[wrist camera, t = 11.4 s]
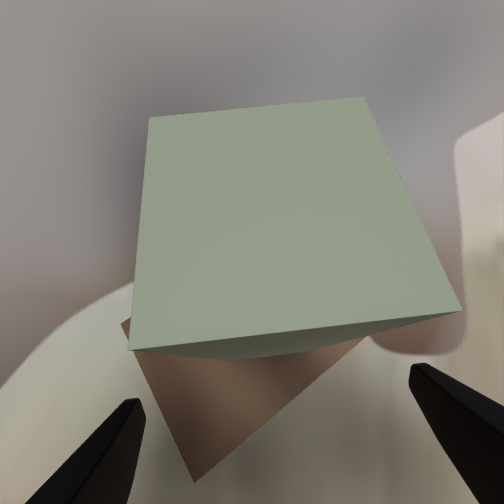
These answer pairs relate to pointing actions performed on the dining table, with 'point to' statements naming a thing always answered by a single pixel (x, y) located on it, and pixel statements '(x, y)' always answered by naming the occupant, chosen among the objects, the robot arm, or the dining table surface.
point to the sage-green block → (277, 235)
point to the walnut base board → (227, 396)
